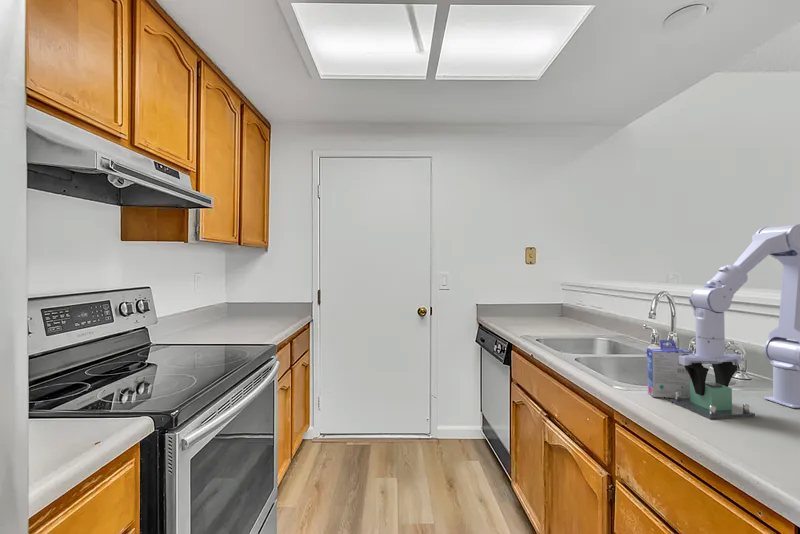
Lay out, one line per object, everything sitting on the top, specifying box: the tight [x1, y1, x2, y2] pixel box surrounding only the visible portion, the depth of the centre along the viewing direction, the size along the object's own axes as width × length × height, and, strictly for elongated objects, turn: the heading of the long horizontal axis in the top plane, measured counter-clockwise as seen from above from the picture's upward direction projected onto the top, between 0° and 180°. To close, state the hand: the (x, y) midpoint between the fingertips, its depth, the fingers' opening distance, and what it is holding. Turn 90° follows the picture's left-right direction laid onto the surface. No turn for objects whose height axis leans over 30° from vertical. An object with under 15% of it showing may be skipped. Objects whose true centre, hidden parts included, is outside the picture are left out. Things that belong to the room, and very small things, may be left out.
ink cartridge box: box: [646, 339, 694, 399], centre depth 121 cm, size 10×6×14 cm, turn 78°
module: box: [690, 380, 733, 410], centre depth 109 cm, size 5×7×5 cm
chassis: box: [670, 392, 756, 420], centre depth 109 cm, size 11×13×3 cm
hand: (710, 393), depth 109 cm, fingers closed on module, 5 cm apart
